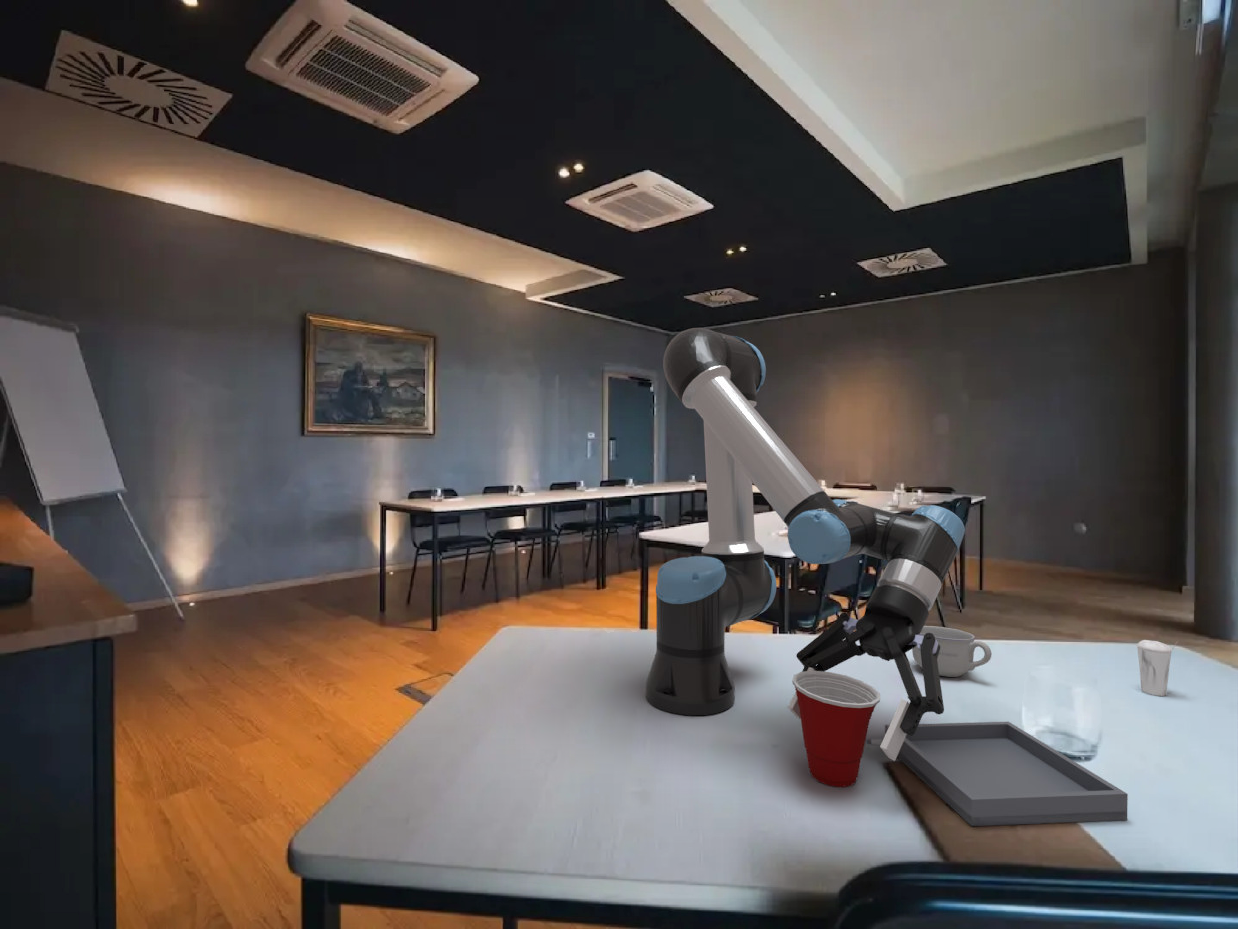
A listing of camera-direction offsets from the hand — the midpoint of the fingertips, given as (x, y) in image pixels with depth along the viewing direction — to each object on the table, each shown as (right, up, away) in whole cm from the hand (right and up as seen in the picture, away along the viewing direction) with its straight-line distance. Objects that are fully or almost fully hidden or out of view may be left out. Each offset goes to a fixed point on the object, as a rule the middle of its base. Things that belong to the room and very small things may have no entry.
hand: (837, 732), depth 75 cm
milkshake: (+67, -6, +29) cm, 73 cm away
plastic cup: (0, -6, +1) cm, 6 cm away
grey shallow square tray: (+20, -6, 0) cm, 21 cm away
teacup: (+36, -6, +38) cm, 52 cm away
